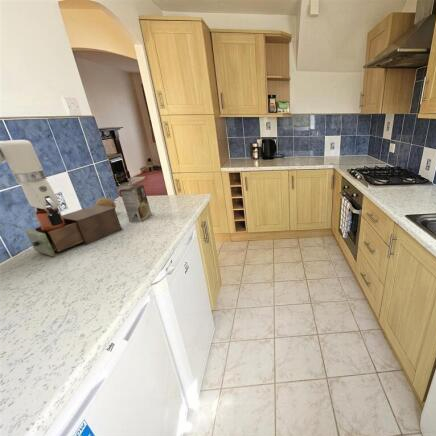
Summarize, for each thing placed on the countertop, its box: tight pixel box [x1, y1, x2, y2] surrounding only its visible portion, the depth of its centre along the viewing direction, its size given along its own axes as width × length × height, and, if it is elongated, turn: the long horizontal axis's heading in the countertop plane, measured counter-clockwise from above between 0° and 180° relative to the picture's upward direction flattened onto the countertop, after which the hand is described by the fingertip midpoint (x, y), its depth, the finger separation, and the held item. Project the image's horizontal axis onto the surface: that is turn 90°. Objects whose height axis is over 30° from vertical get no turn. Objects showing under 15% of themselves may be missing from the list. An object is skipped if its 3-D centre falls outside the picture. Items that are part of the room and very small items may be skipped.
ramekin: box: [33, 208, 65, 230], centre depth 91 cm, size 7×7×6 cm
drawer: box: [24, 219, 84, 257], centre depth 94 cm, size 15×11×9 cm
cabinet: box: [61, 204, 123, 245], centre depth 104 cm, size 15×13×11 cm
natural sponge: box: [94, 196, 117, 209], centre depth 124 cm, size 9×9×10 cm
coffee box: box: [118, 184, 152, 222], centre depth 119 cm, size 9×6×16 cm
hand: (52, 222), depth 92 cm, fingers closed on ramekin, 6 cm apart
